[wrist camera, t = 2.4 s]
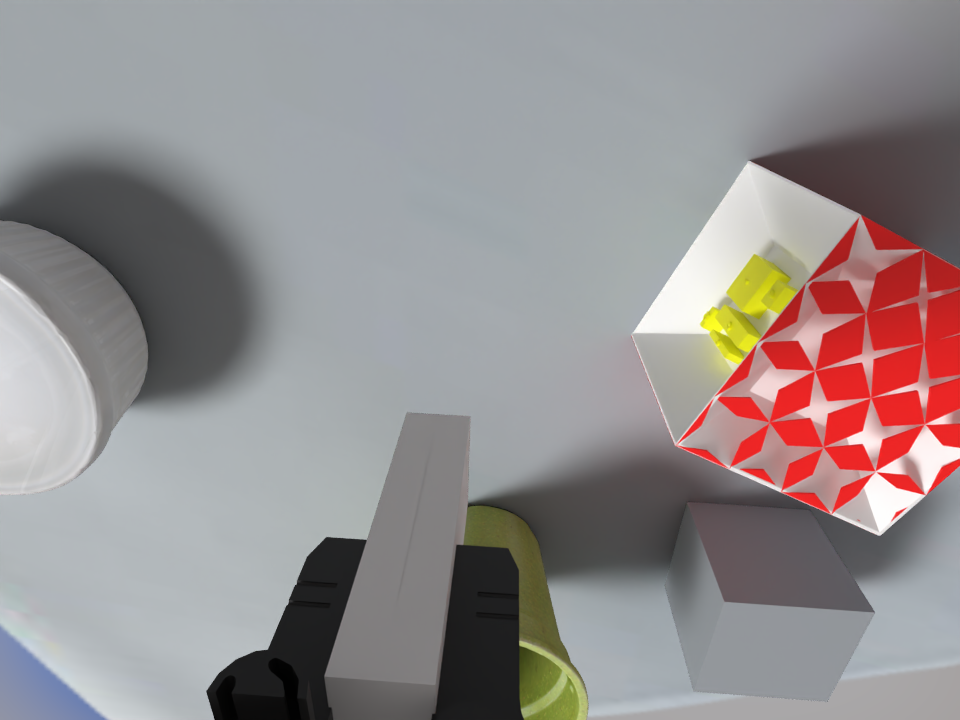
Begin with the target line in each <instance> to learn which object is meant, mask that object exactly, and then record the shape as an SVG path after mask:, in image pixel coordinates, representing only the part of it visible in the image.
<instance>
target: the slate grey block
mask: <svg viewBox="0 0 960 720" xmlns="http://www.w3.org/2000/svg"><path fill="white" fill-rule="evenodd" d="M665 589H666V593H667V596H668V600H669V604H670V607H671V611H672V615H673V618H674V622H675V626H676V629H677V633H678V637H679V640H680V644H681V647H682V651H683V655H684V658H685V662H686V666H687V669H688V673H689V677H690V680H691V684H692V688H693V691H694V692H707V693H720V694H733V695H746V696H759V697H772V698H785V699H799V700H811V701H812V700H813V701H825V702H828V700H829V698H830V696H831V694H832V693H833V691H834V689H835V687H836V685H837V683H838V681H839V679H840V678H841V676H842V674H843V672H844V670H845V668H846V666H847V664H848V663H849V661H850V659H851V657H852V655H853V653H854V651H855V649H856V648H857V646H858V644H859V642H860V640H861V638H862V636H863V634H864V633H865V631H866V629H867V627H868V625H869V623H870V621H871V619H872V618H873V616H874V614H875V612H874V610H873V608H872V607H871V605H870V604H869V602H868V601H867V599H866V597H865V596H864V594H863V593H862V591H861V590H860V588H859V586H858V585H857V583H856V582H855V580H854V579H853V577H852V575H851V574H850V572H849V571H848V569H847V567H846V566H845V564H844V563H843V561H842V560H841V558H840V556H839V555H838V553H837V552H836V550H835V549H834V547H833V545H832V544H831V542H830V541H829V539H828V538H827V536H826V534H825V533H824V531H823V530H822V528H821V527H820V525H819V523H818V522H817V520H816V519H815V517H814V516H813V514H812V512H811V511H810V510H806V509H790V508H775V507H760V506H744V505H729V504H714V503H698V502H687V503H686V507H685V511H684V515H683V518H682V522H681V526H680V530H679V533H678V537H677V541H676V545H675V548H674V552H673V556H672V560H671V563H670V567H669V571H668V575H667V578H666V582H665Z"/></svg>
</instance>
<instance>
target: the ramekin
mask: <svg viewBox="0 0 960 720" xmlns="http://www.w3.org/2000/svg"><path fill="white" fill-rule="evenodd" d="M147 362H148V344H147V340H146V335H145V331H144V329H143V325H142V322H141V319H140V317H139V314H138V312H137V310H136V308H135V306H134V304H133V302H132V301H131V299H130V297H129V296H128V294H127V293H126V291H125V290H124V288H123V287H122V286H121V285H120V284H119V282H118V281H117V280H116V279H115V278H114V276H113V275H112V274H111V273H110V272H109V271H108V270H107V269H106V268H105V267H103V266H102V265H101V264H100V263H99V262H98V261H96V260H95V259H94V258H93V257H91V256H90V255H89V254H87V253H86V252H84V251H83V250H81V249H80V248H78V247H77V246H75V245H73V244H71V243H69V242H68V241H66V240H64V239H63V238H61V237H58V236H56V235H54V234H52V233H50V232H48V231H46V230H43V229H38V228H35V227H33V226H31V225H29V224H21V223H17V222H14V221H1V220H0V494H1V495H26V494H34V493H40V492H44V491H50V490H53V489H56V488H59V487H61V486H63V485H65V484H67V483H69V482H71V481H72V480H74V479H75V478H77V477H78V476H79V475H80V474H82V473H83V472H84V471H85V470H86V469H87V468H88V467H89V466H90V465H91V464H92V463H93V462H94V461H95V460H96V459H97V458H98V456H99V455H100V454H101V453H102V451H103V449H104V448H105V446H106V444H107V442H108V440H109V437H110V435H111V431H112V430H113V429H114V427H115V426H116V424H117V423H118V422H119V420H120V419H121V417H122V416H123V414H124V413H125V412H126V410H127V409H128V408H129V406H130V405H131V403H132V402H133V401H134V399H135V398H136V396H137V395H138V394H139V392H140V389H141V386H142V385H143V383H144V380H145V374H146V372H147V369H148V367H147Z"/></svg>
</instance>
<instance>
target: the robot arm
mask: <svg viewBox="0 0 960 720" xmlns="http://www.w3.org/2000/svg"><path fill="white" fill-rule="evenodd" d="M469 446H470V416H457V415H440V414H424V413H407V414H406V417H405V420H404V423H403V427H402V430H401V433H400V436H399V439H398V443H397V446H396V449H395V452H394V455H393V459H392V462H391V465H390V468H389V471H388V475H387V478H386V481H385V484H384V487H383V491H382V494H381V497H380V500H379V503H378V507H377V510H376V513H375V516H374V519H373V522H372V526H371V529H370V532H369V535H368V538H367V540H360V539H346V538H331V537H326V538H325V539H324V540H323V541H322V542H321V543H320V544H319V545H318V546H317V547H316V548H315V549H314V550H313V551H312V552H311V553H310V554H309V556H308V557H307V559H306V561H305V563H304V566H303V568H302V570H301V573H300V575H299V577H298V580H297V585H295V587H294V589H293V592H292V594H291V596H290V599H289V604H288V605H287V606H286V608H285V611H284V613H283V615H282V618H281V620H280V622H279V625H278V627H277V629H276V632H275V634H274V637H273V639H272V641H271V644H270V646H269V648H268V650H262V651H255V652H253V653H250V654H248V655H245V656H243V657H241V658H238V659H236V660H235V661H234V662H232V663H231V664H230V665H229V666H227V667H226V668H225V669H224V670H222V671H221V672H220V673H219V674H218V675H217V677H216V678H215V680H214V681H213V682H212V684H211V685H210V687H209V688H208V690H207V691H206V692H207V695H208V699H209V702H210V705H211V709H212V712H213V716H214V719H215V720H524V718H523V715H522V713H521V705H520V670H519V569H518V567H517V565H516V563H515V561H514V559H513V557H512V555H511V553H510V551H509V549H508V548H501V547H486V546H472V545H463V543H464V534H465V525H466V516H467V507H468V477H469Z"/></svg>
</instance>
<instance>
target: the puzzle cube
mask: <svg viewBox="0 0 960 720" xmlns="http://www.w3.org/2000/svg"><path fill="white" fill-rule="evenodd" d="M631 337H632V339H633V342H634V344H635V347H636V349H637V352H638V354H639V357H640V360H641V362H642V365H643V367H644V370H645V372H646V375H647V377H648V380H649V381H650V385H651V387H652V390H653V393H654V395H655V398H656V400H657V403H658V405H659V408H660V410H661V412H662V415H663V417H664V420H665V422H666V425H667V427H668V430H669V433H670V435H671V438H672V440H673V443H674V445H675V446H676V447H679V448H681V449H683V450H685V451H688V452H690V453H692V454H694V455H697V456H699V457H701V458H704V459H706V460H708V461H710V462H713V463H715V464H717V465H719V466H722V467H724V468H726V469H729V470H731V471H734V472H736V473H738V474H740V475H743V476H745V477H747V478H749V479H752V480H754V481H756V482H758V483H761V484H763V485H765V486H767V487H770V488H772V489H774V490H777V491H779V492H781V493H783V494H786V495H788V496H790V497H792V498H795V499H797V500H799V501H801V502H804V503H806V504H808V505H810V506H813V507H815V508H817V509H820V510H822V511H824V512H826V513H829V514H830V515H833V516H835V517H837V518H840V519H842V520H844V521H846V522H849V523H851V524H853V525H855V526H858V527H860V528H862V529H864V530H867V531H869V532H871V533H873V534H876V535H878V536H880V535H882V534H883V533H884V532H885V531H886V530H887V529H888V528H890V527H891V526H892V525H893V524H894V523H895V522H896V521H897V520H899V519H900V518H901V517H902V516H903V515H904V514H905V513H907V512H908V511H909V510H910V509H911V508H912V507H913V506H915V505H916V504H917V503H918V502H919V501H920V500H921V499H922V498H924V497H925V496H926V495H927V494H928V493H929V492H930V491H932V490H933V489H934V488H935V487H936V486H937V485H938V484H940V483H941V482H942V481H943V480H944V479H945V478H946V477H948V476H949V475H950V474H951V473H952V472H953V471H954V470H955V469H957V468H958V467H959V466H960V268H958V267H957V266H955V265H953V264H951V263H949V262H947V261H946V260H944V259H942V258H940V257H938V256H937V255H935V254H933V253H931V252H929V251H927V250H926V249H923V248H921V247H919V246H917V245H916V244H914V243H912V242H910V241H908V240H906V239H905V238H903V237H901V236H899V235H897V234H895V233H894V232H892V231H890V230H888V229H886V228H884V227H883V226H881V225H879V224H877V223H875V222H873V221H872V220H870V219H868V218H866V217H864V216H863V215H861V214H859V213H857V212H854V211H852V210H850V209H848V208H846V207H844V206H842V205H840V204H838V203H836V202H834V201H832V200H830V199H827V198H825V197H823V196H821V195H819V194H817V193H815V192H813V191H811V190H809V189H807V188H805V187H803V186H801V185H798V184H796V183H794V182H792V181H790V180H788V179H786V178H784V177H782V176H780V175H778V174H776V173H774V172H771V171H769V170H767V169H765V168H763V167H761V166H759V165H757V164H755V163H753V162H751V161H749V160H748V162H747V164H746V166H745V167H744V169H743V170H742V172H741V173H740V175H739V176H738V178H737V179H736V181H735V182H734V184H733V185H732V187H731V188H730V190H729V191H728V193H727V194H726V196H725V197H724V199H723V200H722V201H721V203H720V204H719V206H718V207H717V209H716V210H715V212H714V213H713V215H712V216H711V218H710V219H709V221H708V222H707V224H706V225H705V227H704V228H703V230H702V231H701V233H700V234H699V236H698V237H697V239H696V240H695V242H694V243H693V245H692V246H691V248H690V249H689V251H688V252H687V253H686V255H685V256H684V258H683V259H682V261H681V262H680V264H679V265H678V267H677V268H676V270H675V271H674V273H673V274H672V276H671V277H670V279H669V280H668V282H667V283H666V285H665V286H664V288H663V289H662V291H661V292H660V294H659V295H658V297H657V298H656V300H655V301H654V302H653V304H652V305H651V307H650V308H649V310H648V311H647V313H646V314H645V316H644V317H643V319H642V320H641V322H640V323H639V325H638V326H637V328H636V329H635V331H634V332H633V333H632V334H631Z"/></svg>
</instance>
